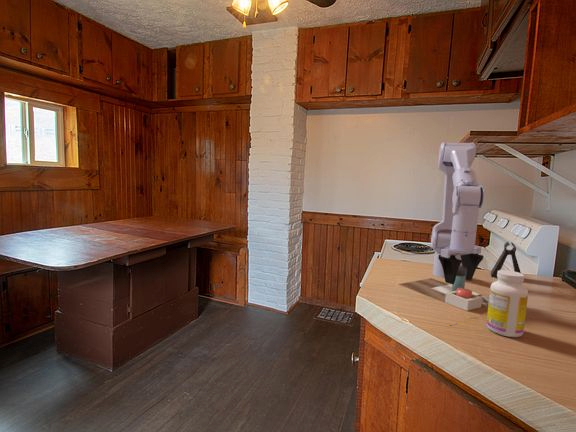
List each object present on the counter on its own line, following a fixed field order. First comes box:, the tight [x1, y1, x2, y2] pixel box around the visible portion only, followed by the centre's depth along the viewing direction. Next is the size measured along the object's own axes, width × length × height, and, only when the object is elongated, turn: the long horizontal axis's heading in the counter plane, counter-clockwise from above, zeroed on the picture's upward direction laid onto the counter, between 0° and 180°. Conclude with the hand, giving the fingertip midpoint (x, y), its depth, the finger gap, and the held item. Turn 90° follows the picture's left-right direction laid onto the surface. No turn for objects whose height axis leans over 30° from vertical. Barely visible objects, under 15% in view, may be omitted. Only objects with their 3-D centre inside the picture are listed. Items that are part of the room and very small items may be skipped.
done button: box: [456, 288, 473, 299], centre depth 80 cm, size 3×3×2 cm
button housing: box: [444, 290, 482, 312], centre depth 81 cm, size 6×6×2 cm
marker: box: [451, 266, 467, 292], centre depth 86 cm, size 3×3×8 cm
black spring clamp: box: [490, 241, 522, 279], centre depth 110 cm, size 9×6×12 cm, turn 59°
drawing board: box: [397, 277, 489, 312], centre depth 89 cm, size 15×21×1 cm
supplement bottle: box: [486, 269, 529, 338], centre depth 68 cm, size 7×7×13 cm
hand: (458, 281), depth 86 cm, fingers open, 7 cm apart
